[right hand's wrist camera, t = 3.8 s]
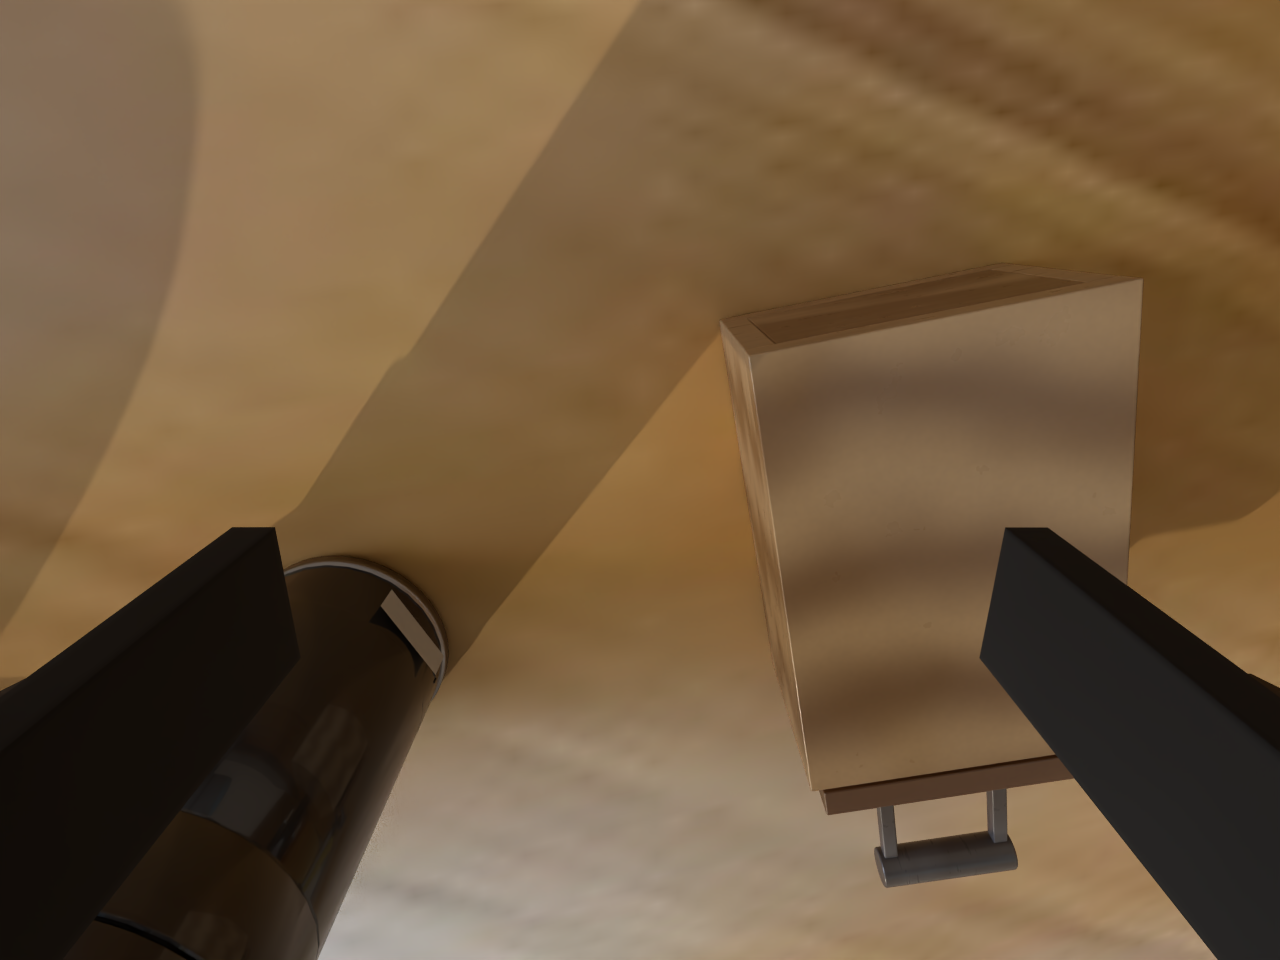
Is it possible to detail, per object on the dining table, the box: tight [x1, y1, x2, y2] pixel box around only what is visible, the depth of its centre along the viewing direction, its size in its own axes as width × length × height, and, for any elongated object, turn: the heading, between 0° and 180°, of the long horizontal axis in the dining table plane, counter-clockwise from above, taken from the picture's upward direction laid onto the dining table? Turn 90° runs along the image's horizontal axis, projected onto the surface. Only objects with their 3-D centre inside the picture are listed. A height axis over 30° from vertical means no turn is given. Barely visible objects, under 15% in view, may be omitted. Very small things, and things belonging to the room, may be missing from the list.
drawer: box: [819, 754, 1074, 888], centre depth 29 cm, size 21×10×6 cm, turn 11°
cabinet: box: [719, 263, 1143, 791], centre depth 27 cm, size 17×11×8 cm
